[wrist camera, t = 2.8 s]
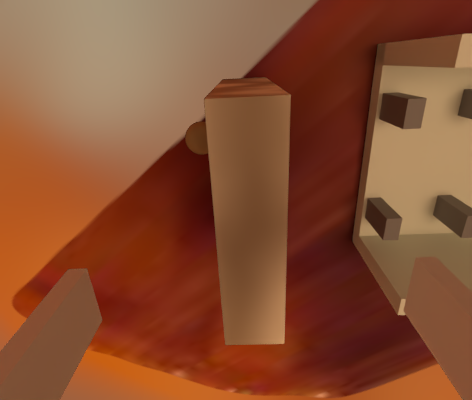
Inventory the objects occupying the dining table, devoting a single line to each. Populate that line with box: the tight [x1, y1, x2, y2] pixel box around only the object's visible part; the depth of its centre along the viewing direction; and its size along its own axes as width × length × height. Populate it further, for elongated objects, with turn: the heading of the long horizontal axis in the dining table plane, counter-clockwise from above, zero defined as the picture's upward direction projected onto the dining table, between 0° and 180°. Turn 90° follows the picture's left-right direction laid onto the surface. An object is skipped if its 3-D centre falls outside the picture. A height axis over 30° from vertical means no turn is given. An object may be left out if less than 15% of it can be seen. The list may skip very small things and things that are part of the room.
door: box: [185, 77, 291, 345], centre depth 22 cm, size 5×14×14 cm, turn 3°
